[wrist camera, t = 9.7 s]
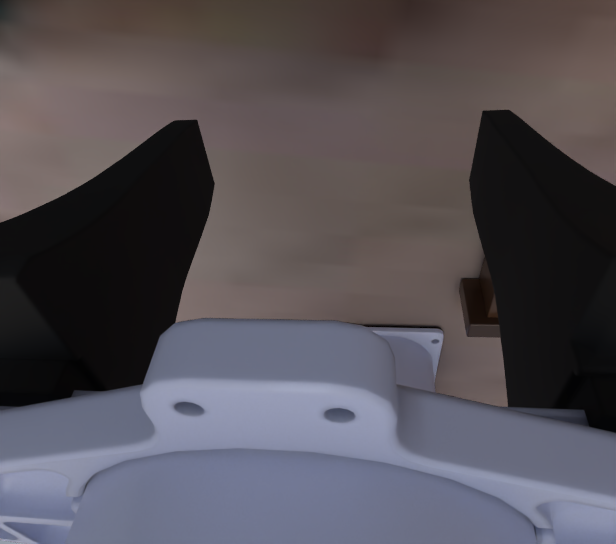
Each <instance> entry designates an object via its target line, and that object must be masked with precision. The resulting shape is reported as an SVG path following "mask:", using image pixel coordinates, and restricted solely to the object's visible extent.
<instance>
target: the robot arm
mask: <svg viewBox="0 0 616 544" xmlns="http://www.w3.org/2000/svg"><path fill="white" fill-rule="evenodd" d="M469 182H470V191H471V200H472V208H473V214H474V218H475V222H476V225H477V229H478V233H479V237H480V240H481V244H482V247H483V251H484V254H485V258H486V262H487V265H488V269H489V272H490V276H491V280H492V284H493V289H494V293H495V300H496V306H497V313H498V320H499V327H500V335H501V343H502V351H503V359H504V369H505V379H506V388H507V399H508V407H498V406H493V405H489V404H484V403H480V402H475V401H471V400H467V399H462V398H458V397H453V396H449V395H444V394H440V393H436V392H435V382H434V381H435V376H436V372H437V367H438V362H439V357H440V352H441V347H442V342H443V337H444V336H443V331H442V330H440V329H437V328H390V327H365V326H363V325H358V324H352V323H346V322H341V321H335V320H287V319H233V318H201V319H195V320H188V321H182V322H178V323H175V321H176V316H177V312H178V307H179V303H180V299H181V294H182V290H183V287H184V283H185V280H186V277H187V274H188V271H189V269H190V266H191V263H192V260H193V258H194V255H195V252H196V249H197V247H198V244H199V241H200V238H201V236H202V233H203V230H204V227H205V224H206V221H207V218H208V216H209V211H210V207H211V202H212V196H213V190H214V185H215V183H214V180H213V176H212V173H211V169H210V165H209V162H208V158H207V154H206V151H205V147H204V143H203V140H202V136H201V132H200V129H199V125H198V121H197V120H177V121H173V122H171V123H170V124H168V125H167V126H165V127H164V128H162V129H161V130H159V131H158V132H157V133H155V134H154V135H153V136H151V137H150V138H149V139H147V140H146V141H145V142H143V143H142V144H141V145H139V146H138V147H137V148H135V149H134V150H133V151H131V152H130V153H129V154H128V155H126V156H125V157H123V158H122V159H121V160H119V161H118V162H116V163H115V164H113V165H112V166H110V167H109V168H107V169H106V170H105V171H103V172H102V173H100V174H99V175H97V176H96V177H94V178H93V179H91V180H89V181H88V182H86V183H84V184H83V185H81V186H79V187H77V188H76V189H74V190H72V191H70V192H68V193H67V194H65V195H63V196H61V197H59V198H57V199H55V200H53V201H51V202H48V203H46V204H44V205H42V206H40V207H37V208H35V209H33V210H31V211H29V212H27V213H24V214H22V215H19V216H17V217H14V218H12V219H9V220H7V221H4V222H1V223H0V540H3V541H10V542H15V543H22V544H616V186H615V185H613V184H611V183H609V182H607V181H605V180H604V179H602V178H600V177H598V176H597V175H595V174H593V173H592V172H590V171H589V170H587V169H586V168H584V167H583V166H581V165H580V164H578V163H577V162H575V161H574V160H572V159H571V158H570V157H568V156H567V155H565V154H564V153H563V152H561V151H560V150H559V149H557V148H556V147H555V146H553V145H552V144H551V143H550V142H548V141H547V140H546V139H545V138H543V137H542V136H541V135H540V134H539V133H537V132H536V131H535V130H534V129H533V128H531V127H530V126H529V125H528V124H527V123H525V122H524V121H523V120H522V119H520V118H519V117H518V116H517V115H515V114H514V113H513V112H511V111H510V110H490V111H483V112H482V117H481V122H480V127H479V133H478V138H477V143H476V148H475V153H474V158H473V164H472V169H471V174H470V179H469Z"/></svg>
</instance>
